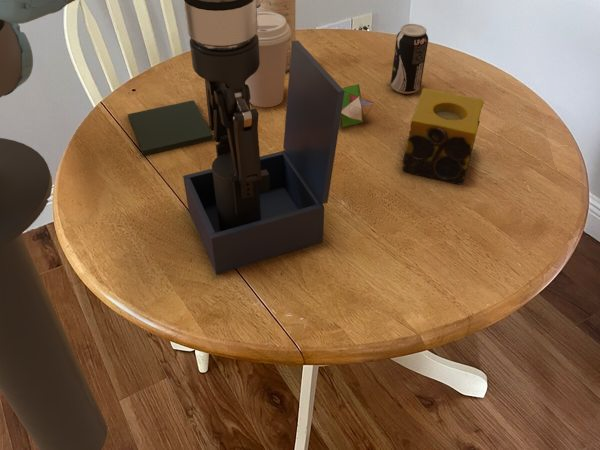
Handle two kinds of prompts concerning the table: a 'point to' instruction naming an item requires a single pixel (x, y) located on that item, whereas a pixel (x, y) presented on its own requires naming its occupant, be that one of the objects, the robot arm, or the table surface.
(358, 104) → the geometric puzzle
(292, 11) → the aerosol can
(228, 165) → the brown mug
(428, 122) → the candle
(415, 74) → the beverage can
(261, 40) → the coffee cup
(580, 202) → the table surface
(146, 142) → the trivet
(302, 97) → the chest lid
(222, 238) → the chest
